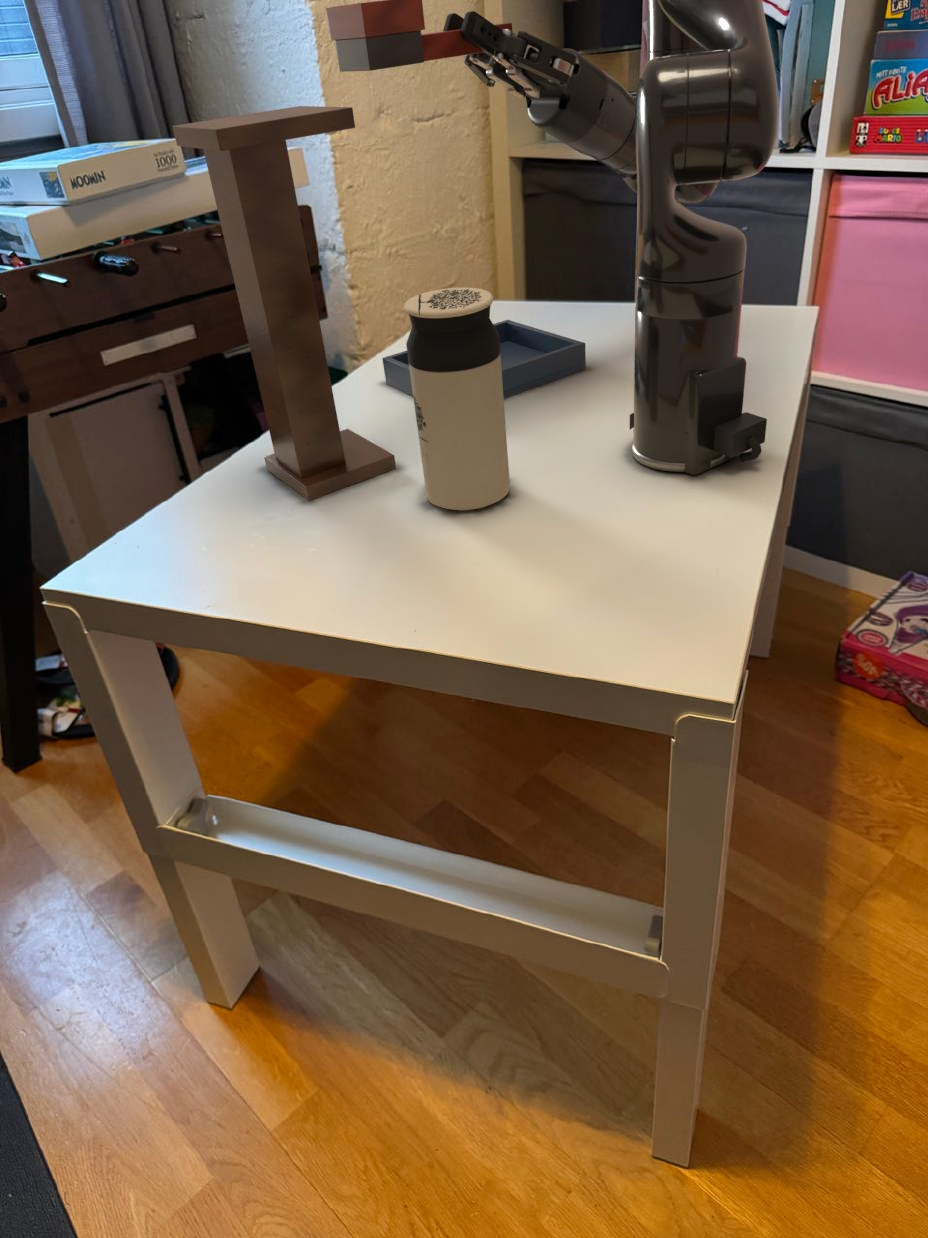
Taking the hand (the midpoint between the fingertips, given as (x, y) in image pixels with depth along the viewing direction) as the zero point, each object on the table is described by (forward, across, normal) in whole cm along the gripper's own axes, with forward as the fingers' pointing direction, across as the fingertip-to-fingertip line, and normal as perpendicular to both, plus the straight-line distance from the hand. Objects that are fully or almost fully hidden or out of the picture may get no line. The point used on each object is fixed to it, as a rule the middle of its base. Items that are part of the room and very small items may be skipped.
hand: (456, 23), depth 81 cm
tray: (-23, -8, +29) cm, 38 cm away
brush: (+1, 0, +4) cm, 4 cm away
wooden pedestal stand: (+1, +2, +43) cm, 43 cm away
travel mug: (-5, +17, +39) cm, 43 cm away
